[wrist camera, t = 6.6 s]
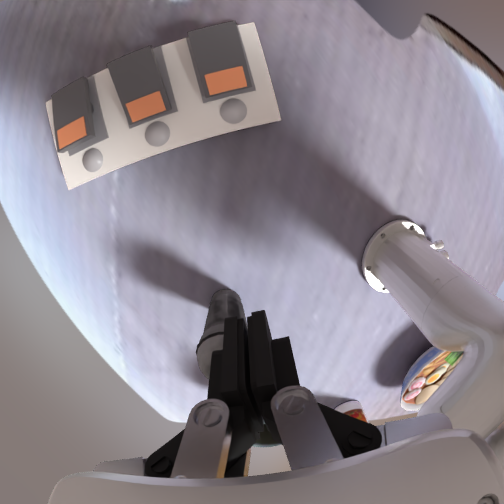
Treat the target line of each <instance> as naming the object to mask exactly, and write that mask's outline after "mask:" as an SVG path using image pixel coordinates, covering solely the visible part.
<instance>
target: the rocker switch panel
mask: <svg viewBox="0 0 504 504" xmlns="http://www.w3.org/2000/svg"><path fill="white" fill-rule="evenodd" d="M237 29H238V33H239V37H240V40H241V44H242V48H243V52H244V56H245V60H246V64H247V68H248V72H249V76H250V80H251V84H252V87H250V88H245V89H241V90H236V91H232V92H228V93H224V94H220V95H216V96H213V97H209V98H206V97H205V93H204V90H203V86H202V82H201V79H200V75H199V72H198V68H197V65H196V61H195V58H194V54H193V50H192V47H191V43H190V40H189V37H186V38H184V39H181V40H177V41H174V42H171V43H168V44H165V45H162V46H158V47H155V48H153V51H154V54H155V57H156V60H157V63H158V66H159V69H160V72H161V75H162V78H163V82H164V85H165V88H166V91H167V94H168V97H169V100H170V103H171V106H172V109H171V110H169V111H166V112H164V113H161V114H158V115H155V116H152V117H150V118H147V119H144V120H142V121H139V122H137V123H134V124H132V125H129V122H128V120H127V117H126V115H125V112H124V110H123V107H122V105H121V102H120V99H119V97H118V94H117V91H116V89H115V86H114V83H113V81H112V78H111V75H110V72H109V69H108V68H106V69H104V70H102V71H100V72H98V73H96V74H94V75H91V76H89V77H88V78H87V79H88V84H89V93H90V102H91V103H92V105H93V108H94V111H93V113H92V117H93V123H94V130H95V136H96V137H94V138H92V139H90V140H87V141H85V142H83V143H81V144H79V145H78V146H76V147H74V148H72V149H70V150H68V151H66V152H64V153H58V152H57V154H58V157H59V161H60V164H61V168H62V171H63V174H64V177H65V180H66V183H67V187H68V190H71V189H73V188H75V187H77V186H80V185H82V184H84V183H86V182H88V181H91V180H93V179H95V178H97V177H100V176H102V175H104V174H107V173H109V172H112V171H114V170H117V169H119V168H122V167H124V166H127V165H129V164H132V163H134V162H137V161H140V160H143V159H145V158H148V157H151V156H154V155H156V154H159V153H162V152H165V151H168V150H171V149H174V148H177V147H180V146H184V145H187V144H190V143H193V142H197V141H200V140H203V139H207V138H210V137H214V136H218V135H221V134H225V133H229V132H233V131H237V130H241V129H245V128H249V127H253V126H258V125H262V124H267V123H271V122H276V121H281V117H280V113H279V109H278V105H277V101H276V97H275V93H274V90H273V86H272V82H271V78H270V75H269V71H268V67H267V64H266V60H265V57H264V53H263V50H262V47H261V43H260V40H259V37H258V33H257V30H256V27H255V24H254V22H253V23H247V24H242V25H237ZM46 107H47V112H48V117H49V122H50V126H51V130H52V135H53V139H54V142H55V146H56V139H55V131H54V122H53V110H52V99H51V100H49V101H47V102H46ZM56 150H57V147H56Z"/></svg>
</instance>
